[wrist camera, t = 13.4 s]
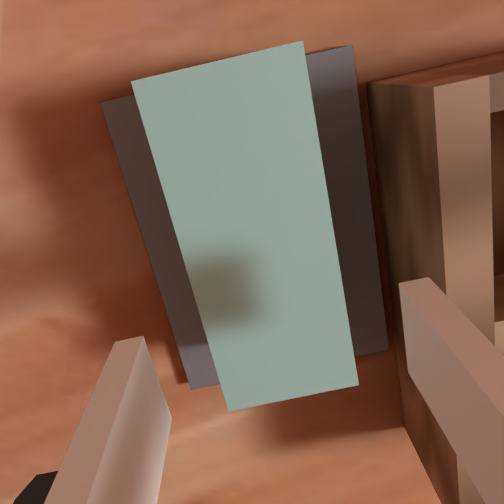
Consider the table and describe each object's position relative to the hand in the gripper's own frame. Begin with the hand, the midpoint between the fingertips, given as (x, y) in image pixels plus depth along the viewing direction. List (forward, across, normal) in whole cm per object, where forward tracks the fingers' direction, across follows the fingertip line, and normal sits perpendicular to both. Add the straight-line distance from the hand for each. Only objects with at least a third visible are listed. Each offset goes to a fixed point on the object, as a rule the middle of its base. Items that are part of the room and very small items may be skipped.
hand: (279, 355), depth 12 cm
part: (+9, 0, +1) cm, 9 cm away
